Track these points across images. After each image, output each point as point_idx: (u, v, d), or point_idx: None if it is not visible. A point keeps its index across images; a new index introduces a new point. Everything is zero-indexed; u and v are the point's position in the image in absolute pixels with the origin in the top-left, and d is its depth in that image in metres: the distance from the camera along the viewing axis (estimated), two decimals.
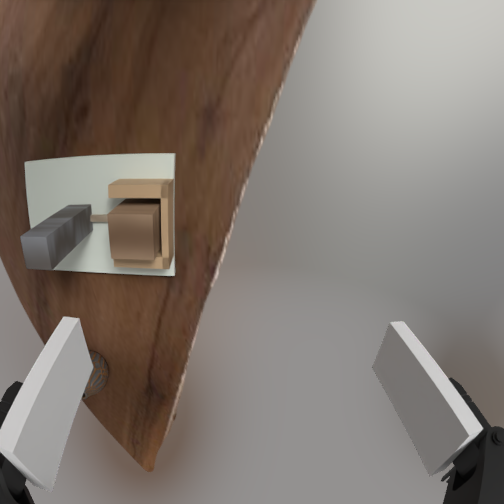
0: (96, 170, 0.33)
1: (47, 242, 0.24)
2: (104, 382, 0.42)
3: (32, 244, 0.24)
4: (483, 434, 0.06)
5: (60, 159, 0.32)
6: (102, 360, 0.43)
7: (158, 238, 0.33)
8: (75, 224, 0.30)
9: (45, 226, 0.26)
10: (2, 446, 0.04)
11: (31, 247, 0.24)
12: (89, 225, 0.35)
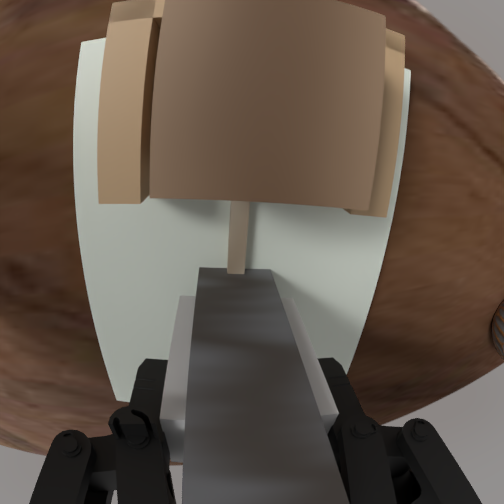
0: (112, 245, 0.14)
1: None
2: None
3: None
4: None
5: (98, 331, 0.16)
6: None
7: None
8: (222, 334, 0.10)
9: None
10: (171, 417, 0.07)
11: None
12: (253, 279, 0.14)
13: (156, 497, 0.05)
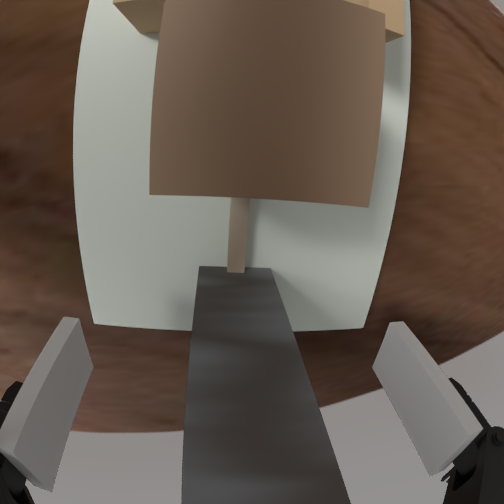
0: (109, 98, 0.11)
1: None
2: None
3: None
4: (483, 434, 0.06)
5: (78, 214, 0.13)
6: None
7: None
8: (221, 332, 0.10)
9: None
10: (2, 446, 0.04)
11: None
12: (253, 277, 0.14)
13: None
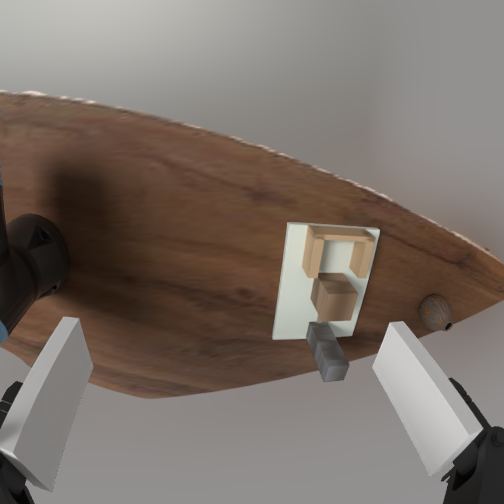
0: (292, 283, 0.50)
1: (332, 365, 0.43)
2: (445, 302, 0.51)
3: (330, 375, 0.43)
4: (483, 434, 0.06)
5: (278, 310, 0.52)
6: (429, 298, 0.54)
7: (343, 284, 0.46)
8: (322, 338, 0.49)
9: (320, 362, 0.46)
10: (2, 446, 0.04)
11: (332, 375, 0.43)
12: (323, 324, 0.53)
13: None
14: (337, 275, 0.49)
